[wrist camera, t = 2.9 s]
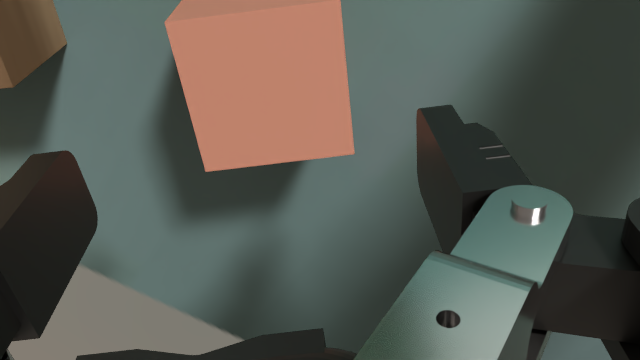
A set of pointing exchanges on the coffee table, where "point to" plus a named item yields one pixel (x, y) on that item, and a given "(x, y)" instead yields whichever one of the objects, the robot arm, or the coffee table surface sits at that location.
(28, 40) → the walnut block
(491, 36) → the coffee table surface
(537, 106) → the coffee table surface
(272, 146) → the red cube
